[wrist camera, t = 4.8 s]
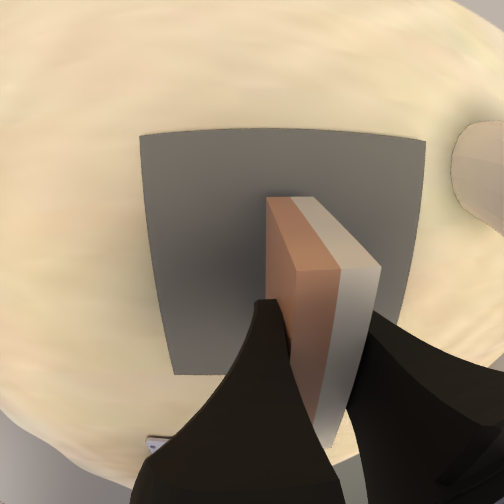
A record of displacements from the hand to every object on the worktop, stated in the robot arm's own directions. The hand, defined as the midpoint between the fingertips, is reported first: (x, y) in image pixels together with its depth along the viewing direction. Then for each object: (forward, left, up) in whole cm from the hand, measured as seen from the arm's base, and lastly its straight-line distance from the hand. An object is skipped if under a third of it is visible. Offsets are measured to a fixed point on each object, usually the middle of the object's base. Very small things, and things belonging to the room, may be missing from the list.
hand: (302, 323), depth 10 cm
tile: (0, 0, -3) cm, 3 cm away
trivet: (-1, 0, -5) cm, 5 cm away
